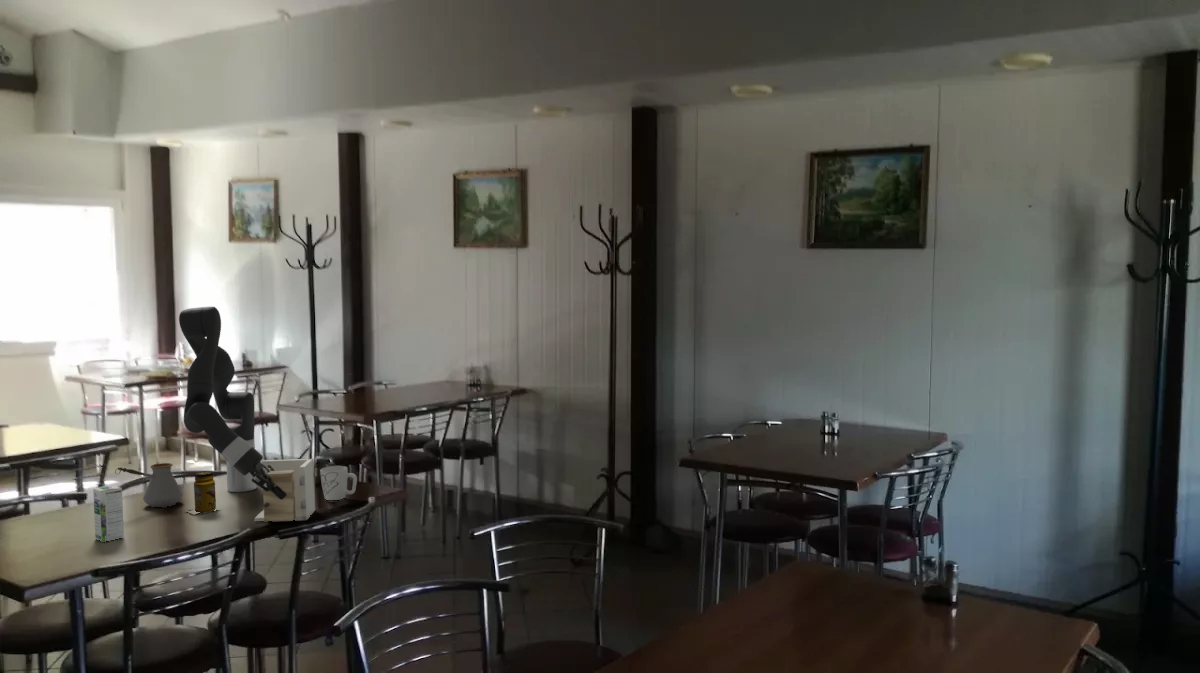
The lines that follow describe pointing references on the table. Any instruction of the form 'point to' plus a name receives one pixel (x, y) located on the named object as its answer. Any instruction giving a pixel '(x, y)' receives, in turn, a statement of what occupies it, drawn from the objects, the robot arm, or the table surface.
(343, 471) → the mug
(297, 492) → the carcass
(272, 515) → the door
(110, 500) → the syrup box
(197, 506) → the condiment
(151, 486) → the coffee pot
